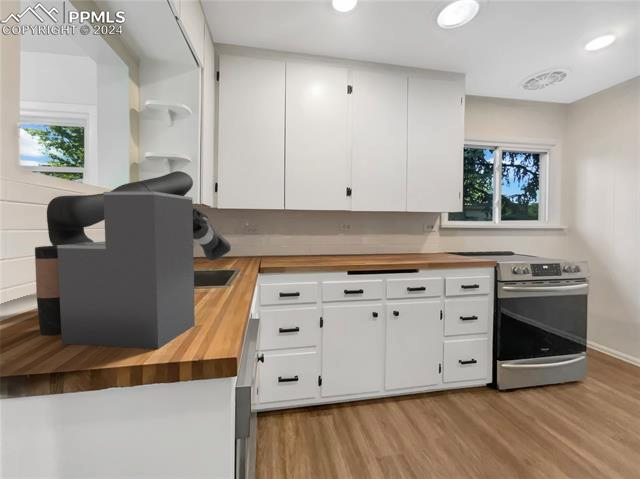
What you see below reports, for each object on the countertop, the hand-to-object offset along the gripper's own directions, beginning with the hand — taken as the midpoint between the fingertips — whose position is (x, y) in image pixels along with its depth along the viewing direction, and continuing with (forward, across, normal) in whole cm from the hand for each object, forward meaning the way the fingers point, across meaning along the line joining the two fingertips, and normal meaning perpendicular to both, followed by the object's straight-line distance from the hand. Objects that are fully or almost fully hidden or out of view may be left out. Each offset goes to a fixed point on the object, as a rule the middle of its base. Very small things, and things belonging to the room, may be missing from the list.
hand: (174, 204), depth 92 cm
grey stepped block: (+6, +6, +40) cm, 41 cm away
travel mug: (+6, -14, +40) cm, 43 cm away
